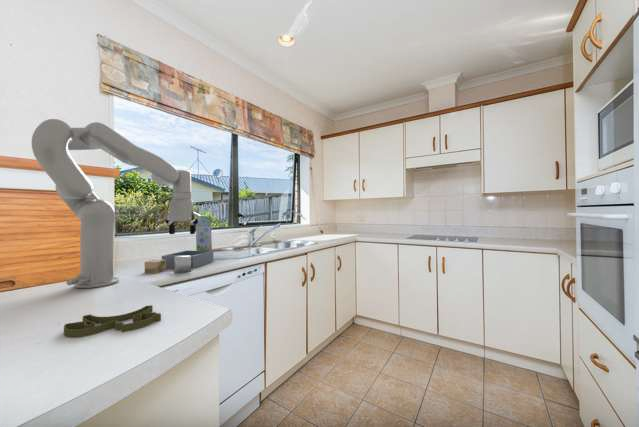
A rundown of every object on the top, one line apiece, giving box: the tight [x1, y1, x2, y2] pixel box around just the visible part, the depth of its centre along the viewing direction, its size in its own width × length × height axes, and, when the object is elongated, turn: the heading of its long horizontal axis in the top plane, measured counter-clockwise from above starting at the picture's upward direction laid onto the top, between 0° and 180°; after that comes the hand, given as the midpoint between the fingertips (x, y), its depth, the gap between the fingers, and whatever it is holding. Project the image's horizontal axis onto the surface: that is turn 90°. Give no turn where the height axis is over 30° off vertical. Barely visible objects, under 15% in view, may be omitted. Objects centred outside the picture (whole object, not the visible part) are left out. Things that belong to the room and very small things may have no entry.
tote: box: [161, 249, 214, 269], centre depth 138 cm, size 20×16×6 cm
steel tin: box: [174, 255, 192, 274], centre depth 120 cm, size 7×7×7 cm
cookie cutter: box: [63, 304, 162, 339], centre depth 62 cm, size 18×12×2 cm, turn 121°
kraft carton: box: [144, 259, 167, 274], centre depth 121 cm, size 6×6×5 cm
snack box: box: [195, 214, 213, 251], centre depth 162 cm, size 22×9×26 cm, turn 25°
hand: (182, 233), depth 122 cm, fingers open, 9 cm apart
